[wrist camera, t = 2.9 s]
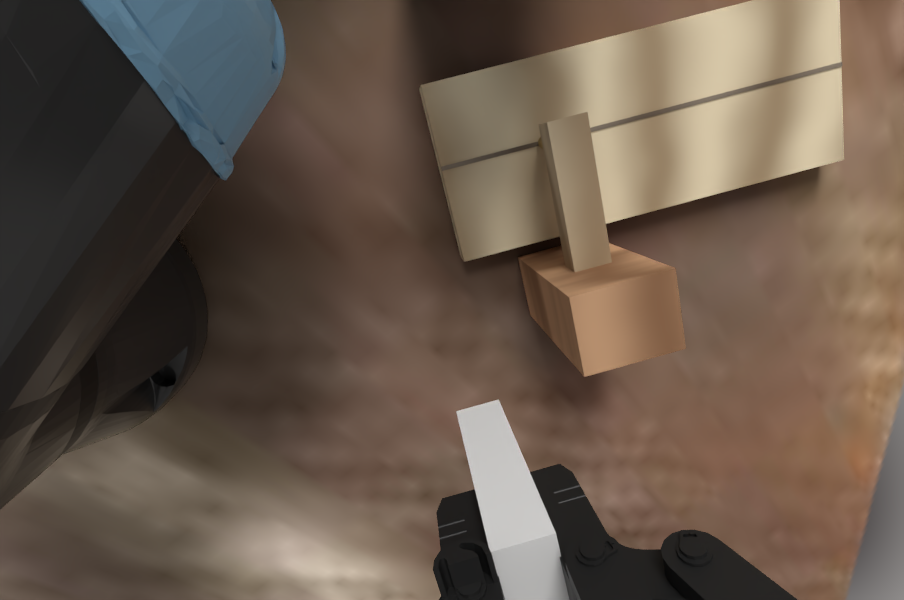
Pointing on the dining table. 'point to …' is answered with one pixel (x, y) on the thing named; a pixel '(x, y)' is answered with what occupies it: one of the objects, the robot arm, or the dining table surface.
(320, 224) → the dining table surface
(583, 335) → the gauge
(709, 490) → the dining table surface
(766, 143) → the board
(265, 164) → the dining table surface
